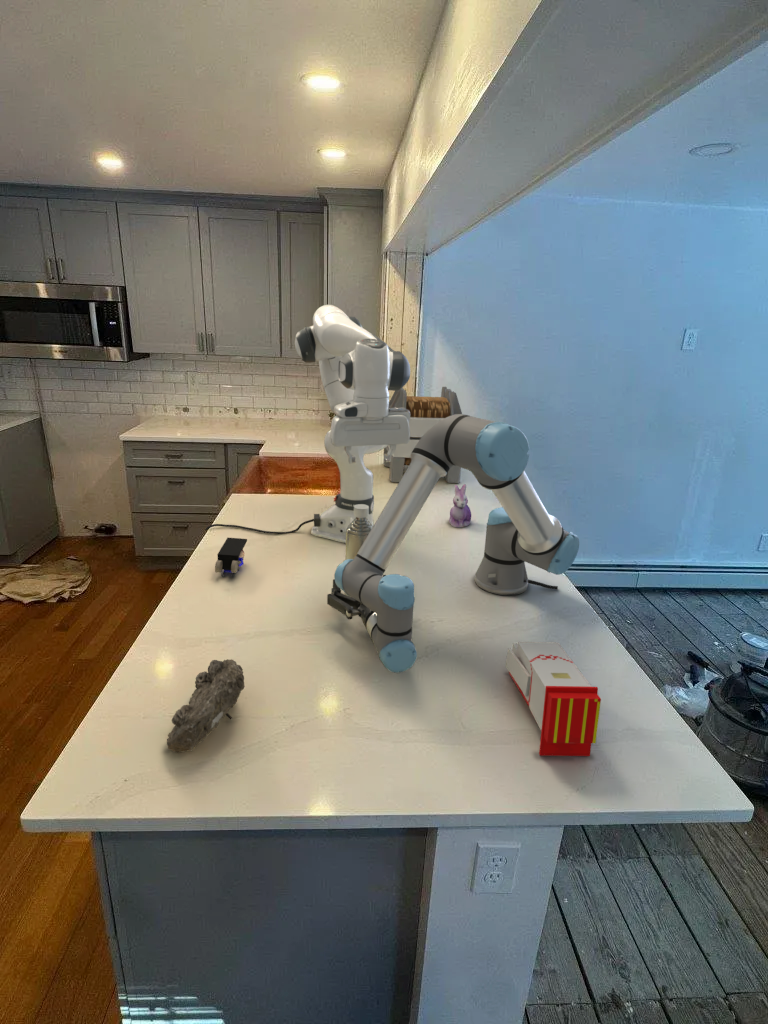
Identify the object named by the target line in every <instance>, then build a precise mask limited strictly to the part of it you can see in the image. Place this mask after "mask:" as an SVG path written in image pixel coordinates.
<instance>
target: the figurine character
mask: <svg viewBox="0 0 768 1024" xmlns="http://www.w3.org/2000/svg"><path fill="white" fill-rule="evenodd" d="M247 542H248V538H240V537H226V539H225V541H224V543H223V544H222V546H221V547H220V549H219V551H218V552H217V560H216V562H215V564H214V572H215V573H221V577H222V578H224V577H225V576H226V574H227V573H230V574H231V573H232V574H231V578H234V577H235V575H236V573H237V572H239V571H240V567H242V566H243V565H244V564H245V562H244V558H245V551H244V547H245V546H246V544H247Z"/></svg>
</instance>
